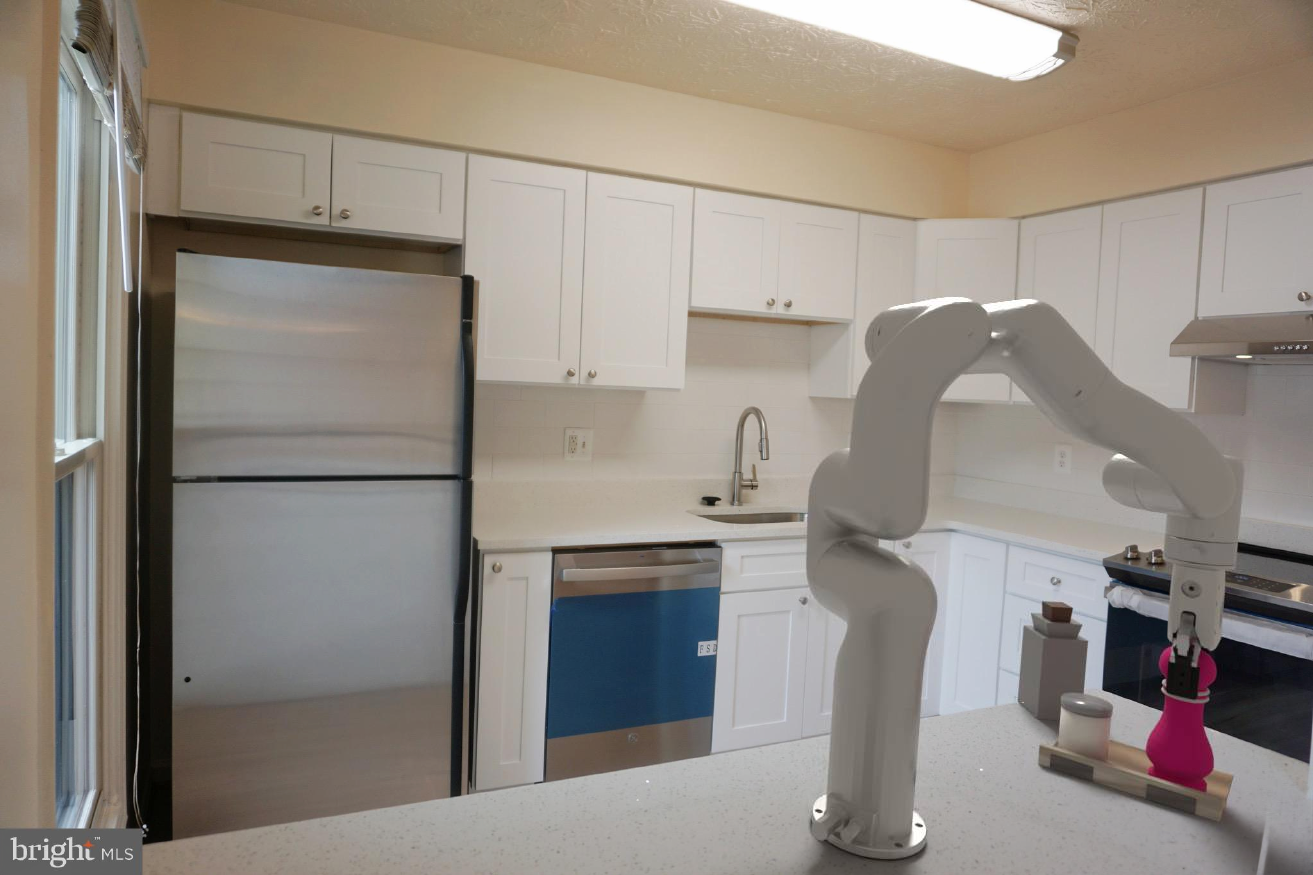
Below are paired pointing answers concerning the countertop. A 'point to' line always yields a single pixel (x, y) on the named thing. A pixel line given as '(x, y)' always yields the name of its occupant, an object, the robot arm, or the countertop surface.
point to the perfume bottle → (1051, 660)
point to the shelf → (1140, 778)
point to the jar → (1085, 725)
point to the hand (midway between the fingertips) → (1186, 685)
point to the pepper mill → (1183, 732)
